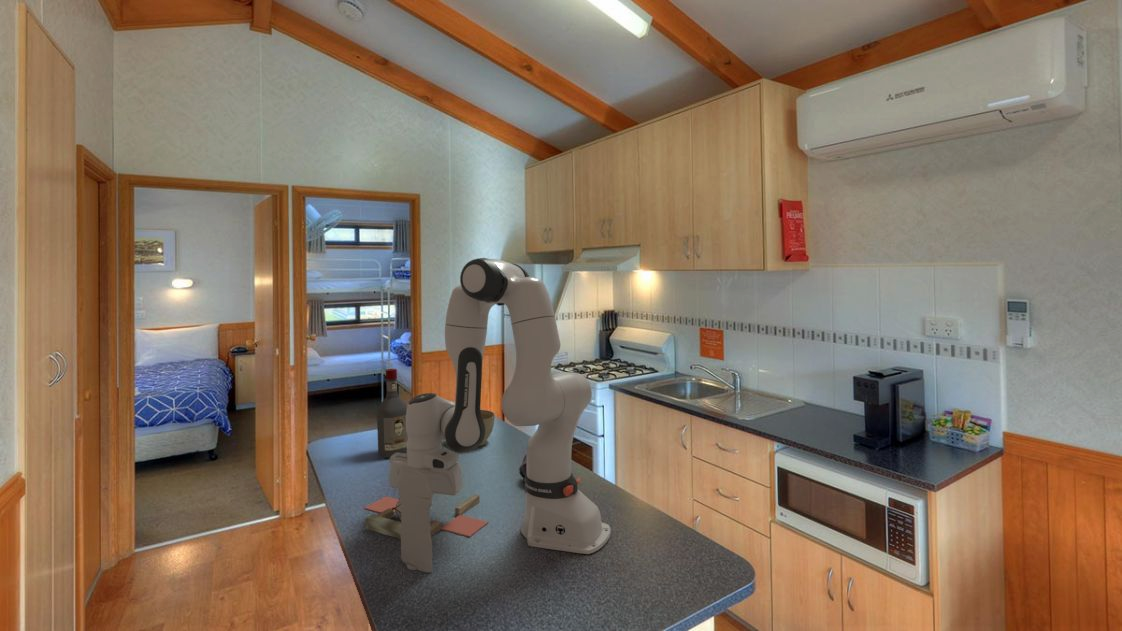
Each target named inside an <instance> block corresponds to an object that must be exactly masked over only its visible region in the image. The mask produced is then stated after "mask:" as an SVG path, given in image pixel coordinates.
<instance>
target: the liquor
mask: <svg viewBox="0 0 1122 631" xmlns="http://www.w3.org/2000/svg"><path fill="white" fill-rule="evenodd" d="M385 379H386V395H385V398H384V399H383V400H382V401H381V403H380V404H378V406H377V408H376V424H377V425H376V426H377V427H376V428H377V429H376V430H377V452H378V454H379V456H381V457H383V458H384V459H390V457H391V456H392V455H393V454H395V453H407V442H408V434H407V432H406V412H407V406H408V404H406V402H404V401H403V399H402V398H401V397H399V394H398V382H397V381H398V380H397V379H398V369H397V368H388V369H385Z"/></svg>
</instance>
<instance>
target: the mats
mask: <svg viewBox="0 0 1122 631" xmlns="http://www.w3.org/2000/svg"><path fill="white" fill-rule="evenodd" d="M399 499H400V498H394V497H391V496H386V495H385V496H383V497H382V498H380V499H378V500H376V501H374V502H372V503H370V504H369V505H367V506H365V507H364V508H363V509H364V510H368V511H371V512H375V513H378V514H380V513H382V512H383V511H385V510H387V509H389V508H390V509H392V508H395V506H396V505H397V503H398V501H399ZM394 512H395V513H396V511H395V509H394V510H393V514H394ZM488 524H489V521H486V520H482V519H478V518H474V517H471V516H467V515H463V514H462V515H459V516H458V515H456V517H455V518H453V519H451V520H450V521H449V522H448V523H446V524H445V525H443V526H442V527H440V530H441V531H445V532H448V533H452V534H456V535H459V536H464V537H467V538H471V537H472V536H474V535H475V534H476V533H477V532H479V531H480V530H481V529H482V528H484V527H485V526H486V525H488Z"/></svg>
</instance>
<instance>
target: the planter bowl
mask: <svg viewBox="0 0 1122 631" xmlns="http://www.w3.org/2000/svg"><path fill="white" fill-rule="evenodd" d="M480 411H481V416H482V419H483V422H484V425H485V437H484V440H483V442H482V443H481V444H480V445H479V446H478V447H481V446H484V445H486V444H487V443H488V442H487V441H488V439H489V437H491V434H492V432H493V430H494V425H495V417H496V413H495V412H493V411H492V410H487V409H480Z"/></svg>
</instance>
